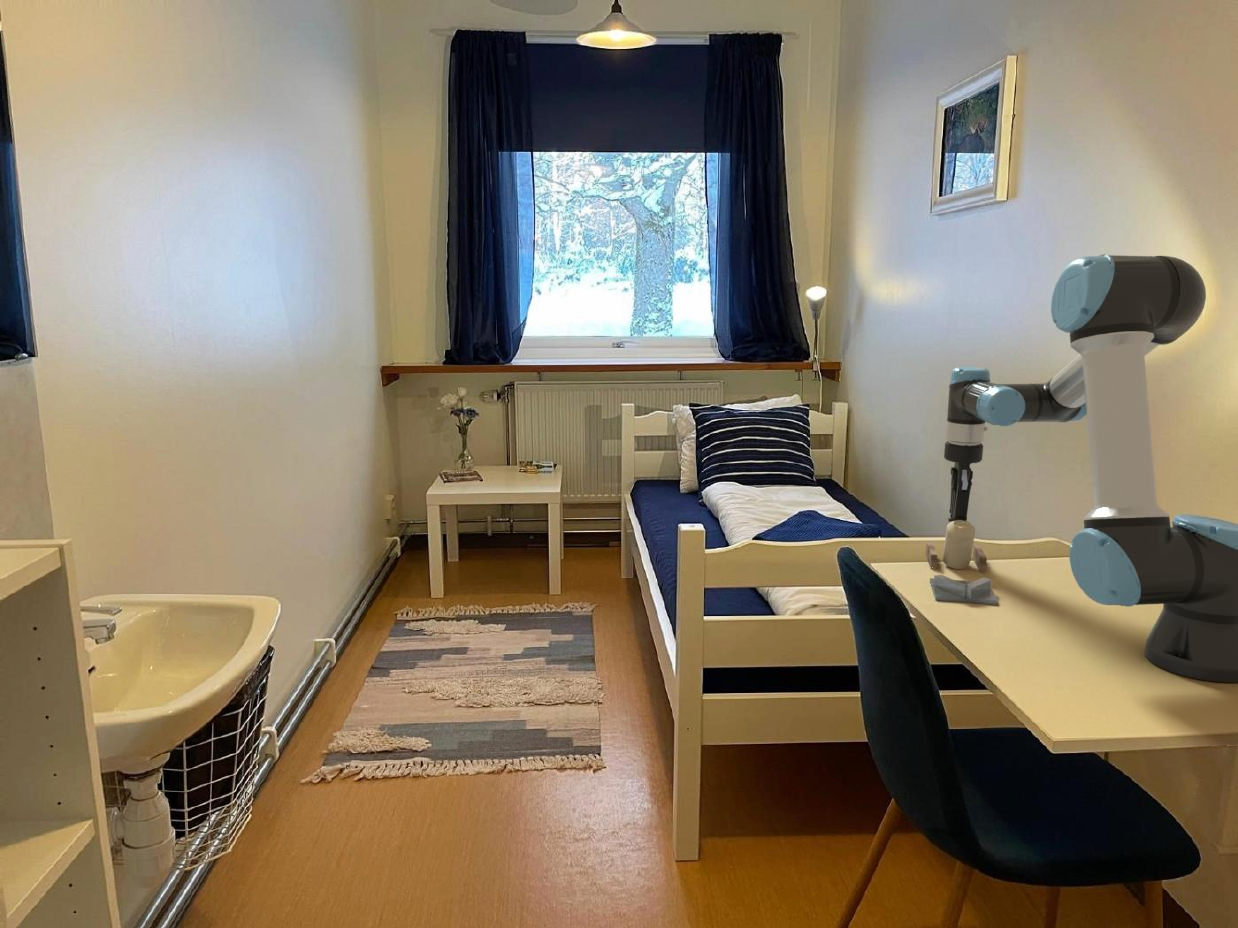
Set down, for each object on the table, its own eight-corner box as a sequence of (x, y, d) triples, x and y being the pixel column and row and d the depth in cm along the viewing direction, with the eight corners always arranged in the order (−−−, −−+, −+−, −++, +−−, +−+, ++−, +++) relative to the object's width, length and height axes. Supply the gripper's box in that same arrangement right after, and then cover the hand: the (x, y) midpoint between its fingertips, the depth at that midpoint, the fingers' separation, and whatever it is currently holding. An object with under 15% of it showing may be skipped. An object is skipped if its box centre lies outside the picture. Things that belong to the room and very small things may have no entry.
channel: (985, 571, 194) (986, 557, 193) (930, 568, 196) (931, 554, 196) (978, 558, 204) (979, 544, 203) (925, 554, 206) (926, 541, 205)
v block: (997, 604, 175) (998, 590, 174) (935, 600, 177) (936, 586, 176) (988, 586, 185) (989, 572, 185) (929, 582, 187) (930, 568, 187)
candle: (966, 552, 200) (972, 514, 194) (972, 569, 195) (979, 530, 190) (939, 552, 200) (945, 515, 195) (945, 569, 196) (950, 531, 190)
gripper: (988, 449, 188) (977, 561, 194) (979, 436, 201) (969, 542, 206) (948, 447, 190) (939, 558, 195) (942, 435, 202) (933, 540, 207)
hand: (954, 550), depth 201 cm, fingers closed
